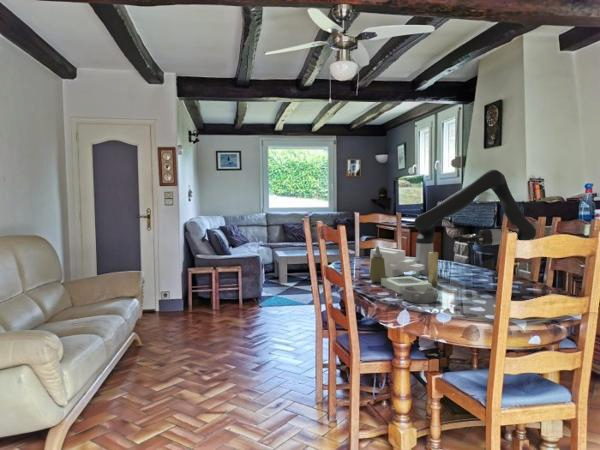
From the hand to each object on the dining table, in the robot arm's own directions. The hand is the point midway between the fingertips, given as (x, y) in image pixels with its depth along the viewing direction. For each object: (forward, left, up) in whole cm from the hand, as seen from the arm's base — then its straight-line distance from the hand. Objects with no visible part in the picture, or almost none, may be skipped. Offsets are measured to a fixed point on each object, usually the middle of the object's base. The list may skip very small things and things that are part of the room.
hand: (456, 239), depth 205 cm
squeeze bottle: (-19, -33, -22) cm, 44 cm away
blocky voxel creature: (-31, -16, -22) cm, 42 cm away
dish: (+23, -32, -23) cm, 45 cm away
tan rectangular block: (-3, -11, -22) cm, 25 cm away
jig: (0, -27, -22) cm, 35 cm away
